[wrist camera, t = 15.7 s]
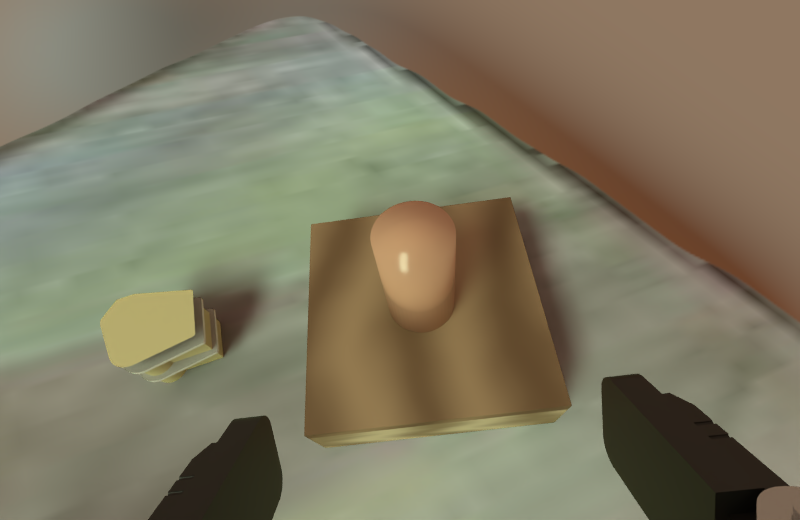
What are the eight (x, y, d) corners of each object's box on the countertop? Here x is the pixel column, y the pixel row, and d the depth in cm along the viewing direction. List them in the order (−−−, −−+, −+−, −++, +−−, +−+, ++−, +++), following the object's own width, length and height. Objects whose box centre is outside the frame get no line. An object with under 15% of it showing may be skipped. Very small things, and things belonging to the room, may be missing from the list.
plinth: (503, 233, 37) (510, 197, 33) (554, 422, 29) (571, 405, 25) (327, 257, 38) (311, 224, 34) (325, 447, 30) (304, 435, 25)
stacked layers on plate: (239, 286, 38) (209, 253, 33) (252, 379, 33) (219, 356, 29) (129, 322, 37) (83, 294, 33) (126, 423, 33) (71, 407, 28)
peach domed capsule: (450, 269, 30) (450, 196, 24) (459, 328, 28) (462, 265, 21) (386, 276, 31) (369, 206, 24) (390, 335, 28) (371, 275, 21)
